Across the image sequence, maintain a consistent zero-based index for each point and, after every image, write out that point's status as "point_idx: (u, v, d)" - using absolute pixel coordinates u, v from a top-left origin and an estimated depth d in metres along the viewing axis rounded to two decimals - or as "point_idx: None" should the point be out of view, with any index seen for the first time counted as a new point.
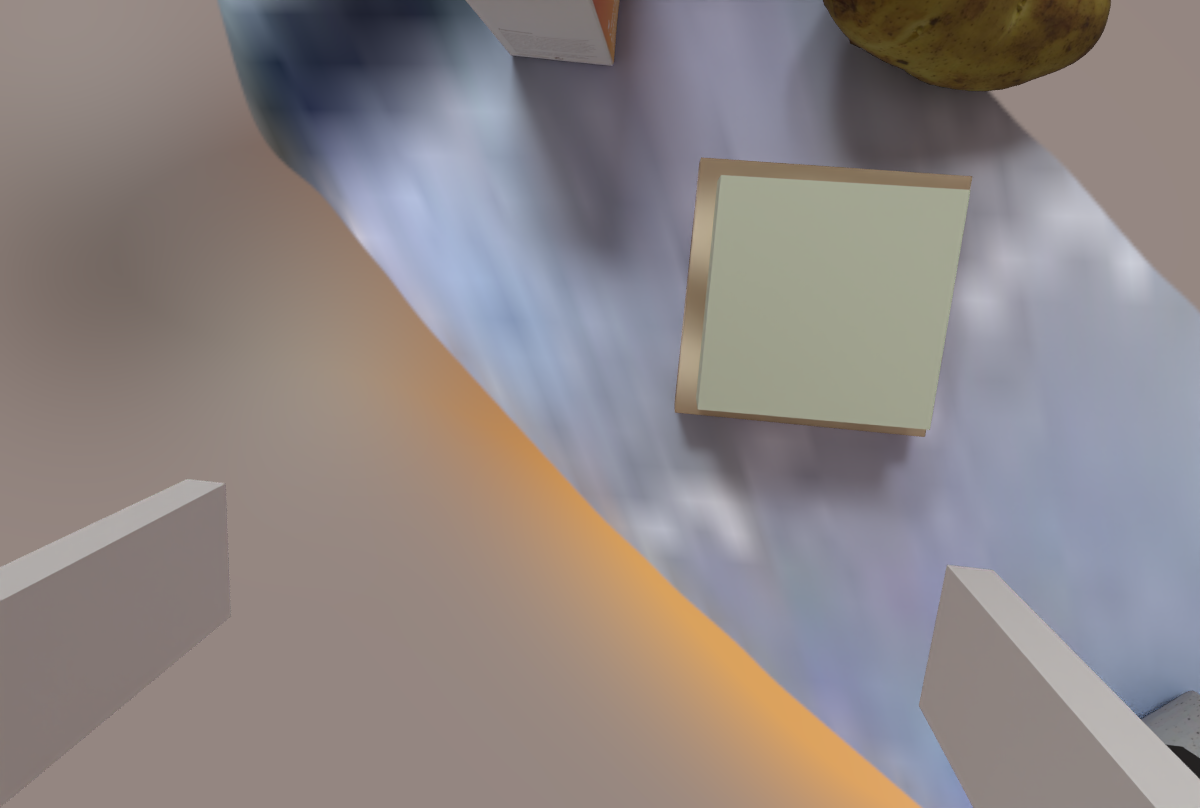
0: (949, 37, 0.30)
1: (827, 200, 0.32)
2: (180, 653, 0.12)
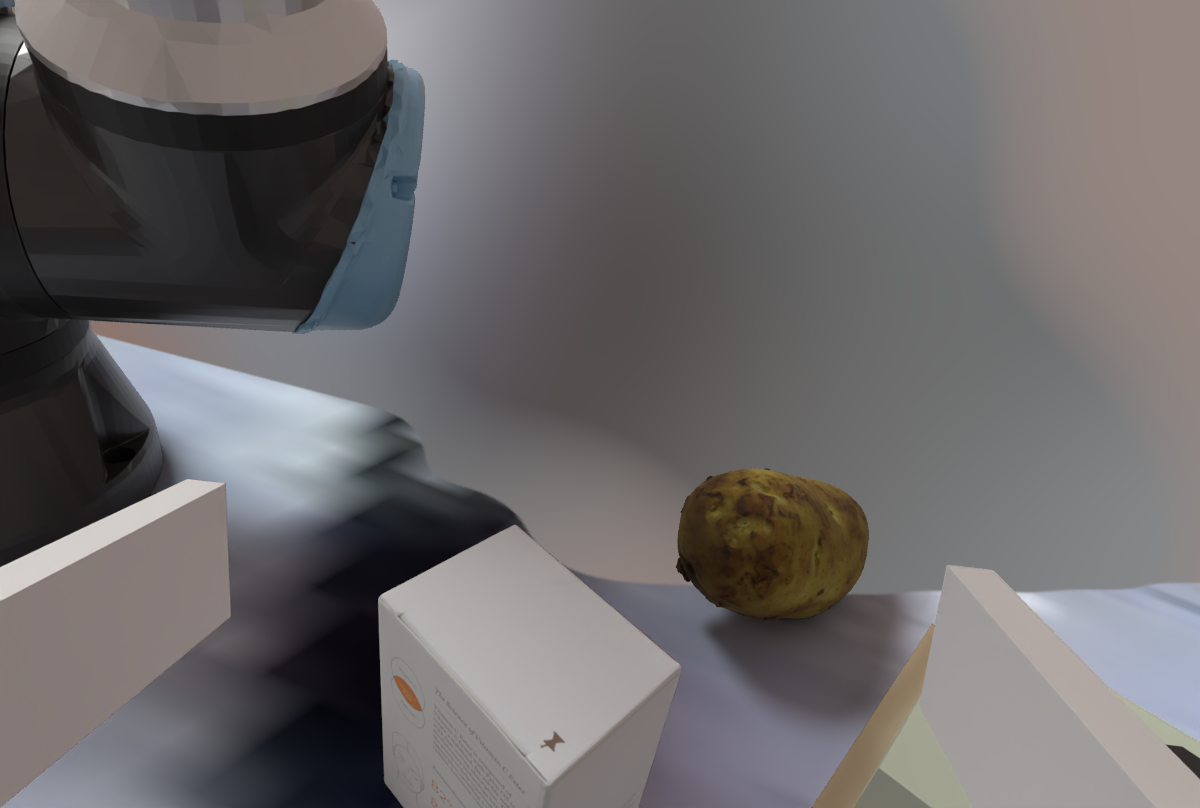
0: (831, 547, 0.34)
1: None
2: (180, 653, 0.12)
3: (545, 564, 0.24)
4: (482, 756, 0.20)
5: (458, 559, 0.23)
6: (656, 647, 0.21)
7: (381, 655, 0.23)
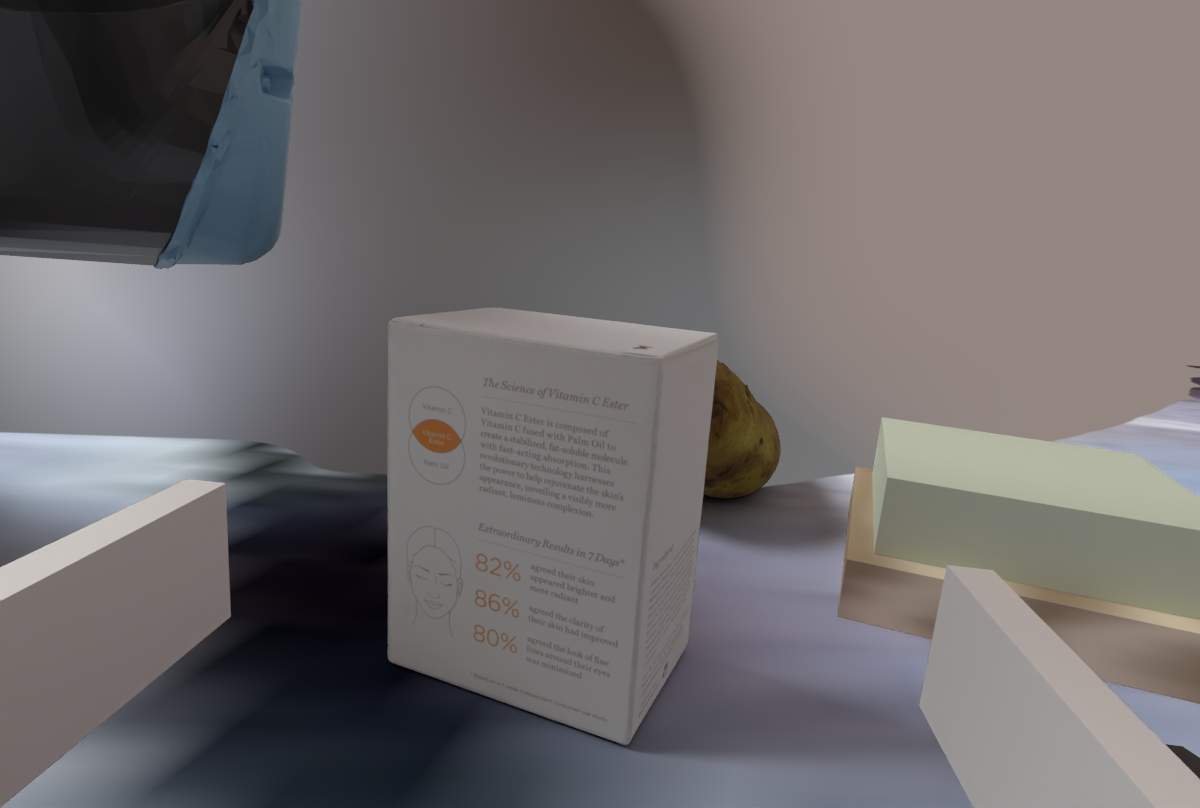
0: (756, 403, 0.36)
1: (904, 448, 0.30)
2: (180, 653, 0.12)
3: (545, 313, 0.23)
4: (561, 415, 0.17)
5: (456, 312, 0.21)
6: None
7: (391, 415, 0.20)
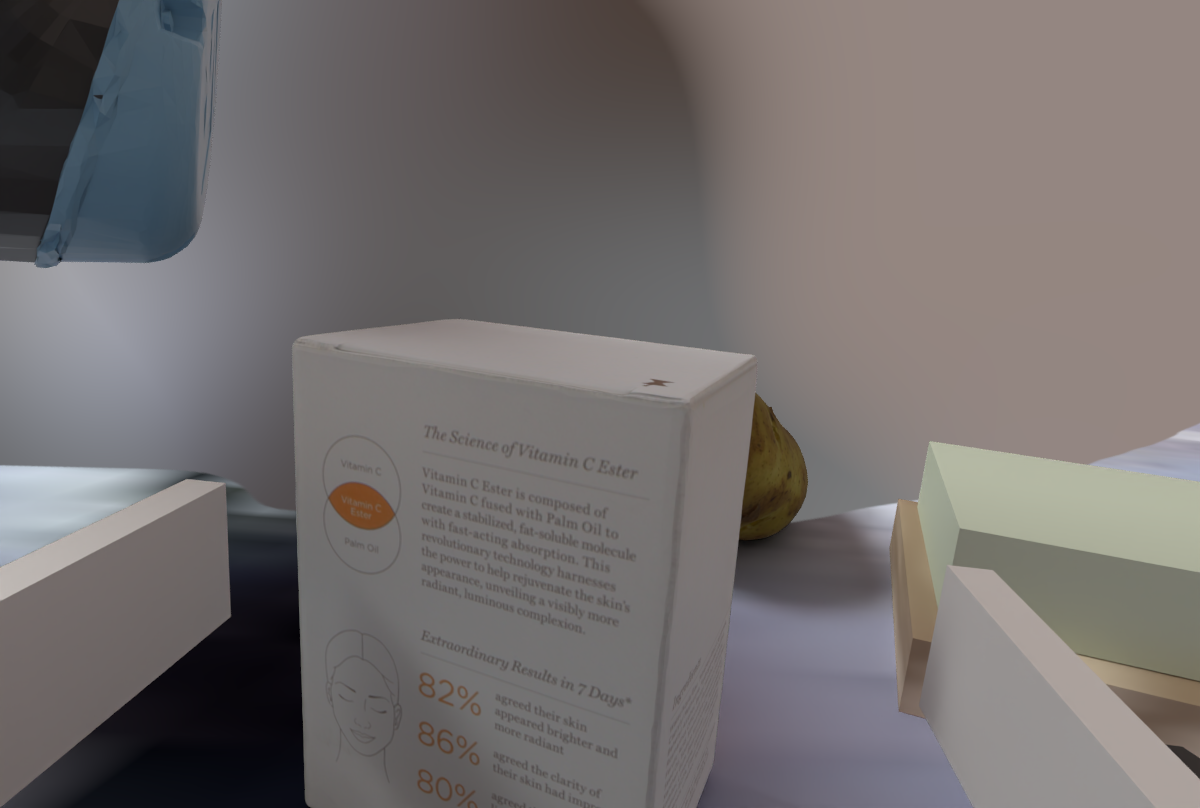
0: (782, 428, 0.30)
1: (968, 485, 0.25)
2: (180, 653, 0.12)
3: (522, 327, 0.17)
4: (537, 483, 0.12)
5: (399, 326, 0.16)
6: None
7: (300, 474, 0.14)
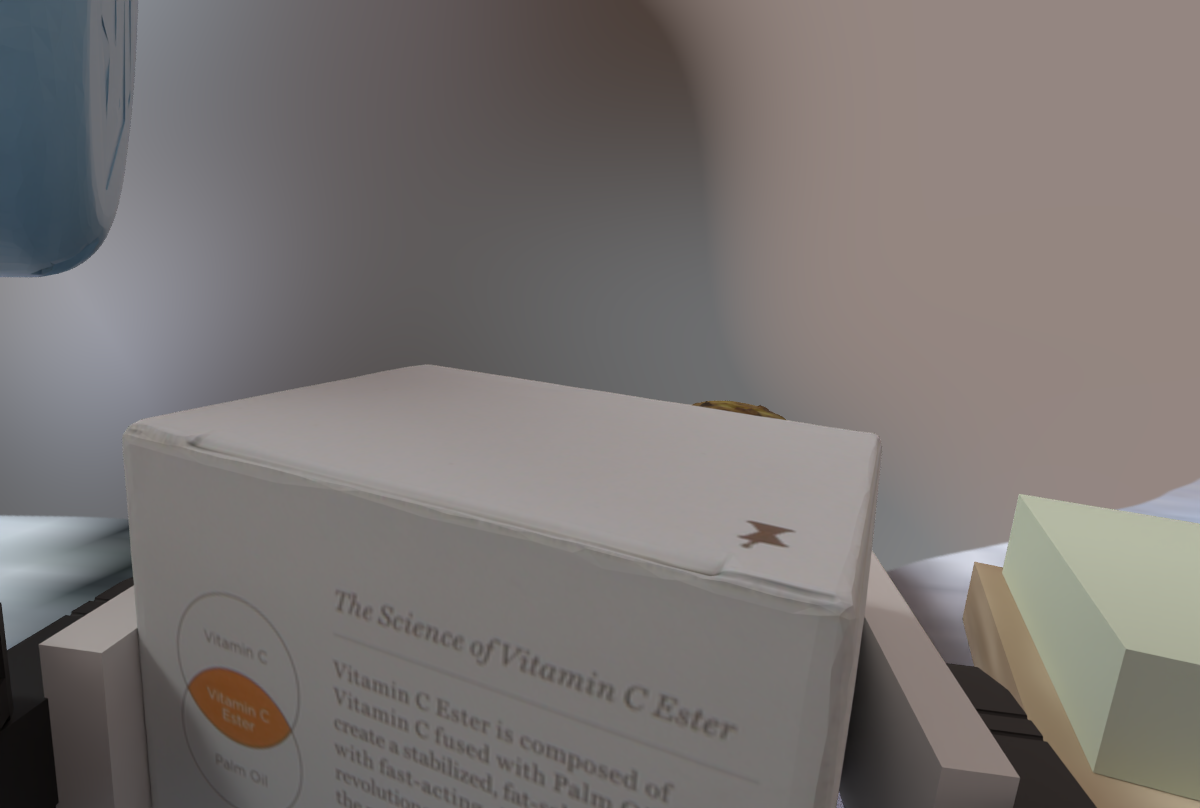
0: None
1: (1099, 566, 0.19)
2: None
3: (515, 381, 0.11)
4: (536, 719, 0.06)
5: (326, 385, 0.10)
6: (811, 425, 0.10)
7: (144, 643, 0.08)
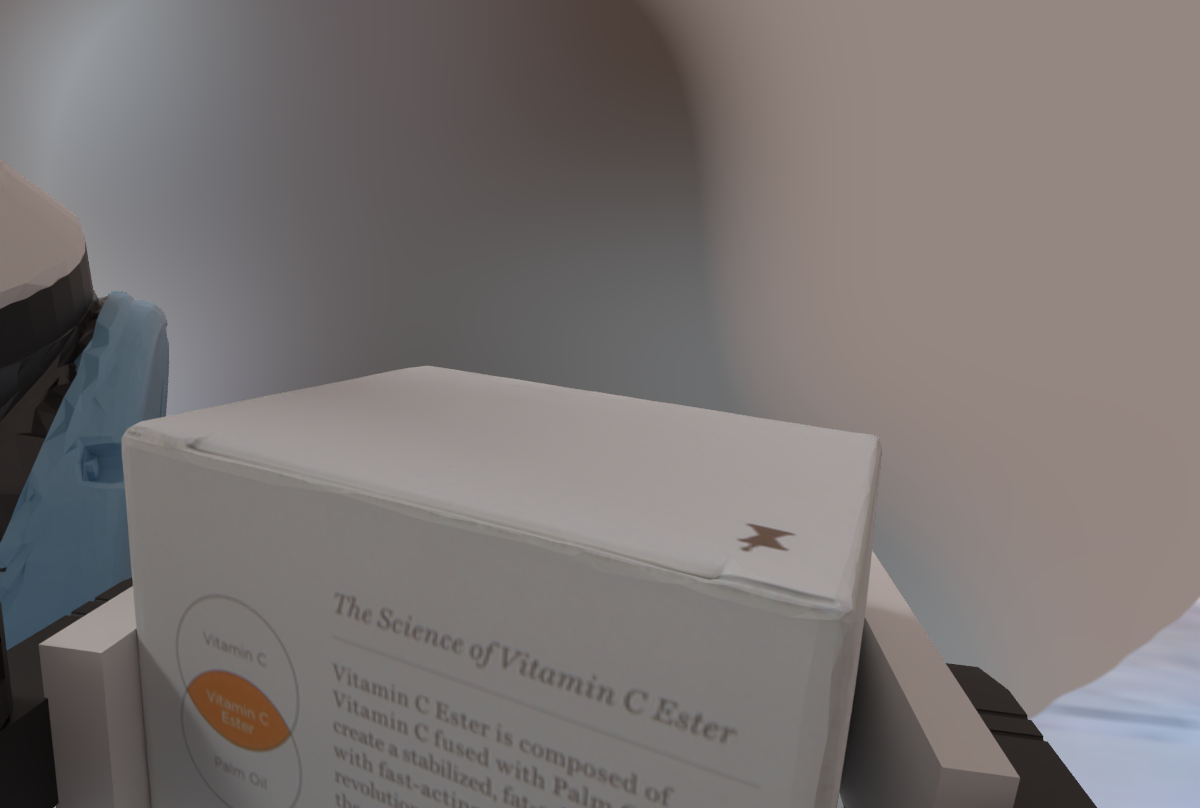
0: None
1: None
2: None
3: (515, 383, 0.11)
4: (536, 721, 0.06)
5: (325, 387, 0.10)
6: (811, 426, 0.10)
7: (143, 646, 0.08)
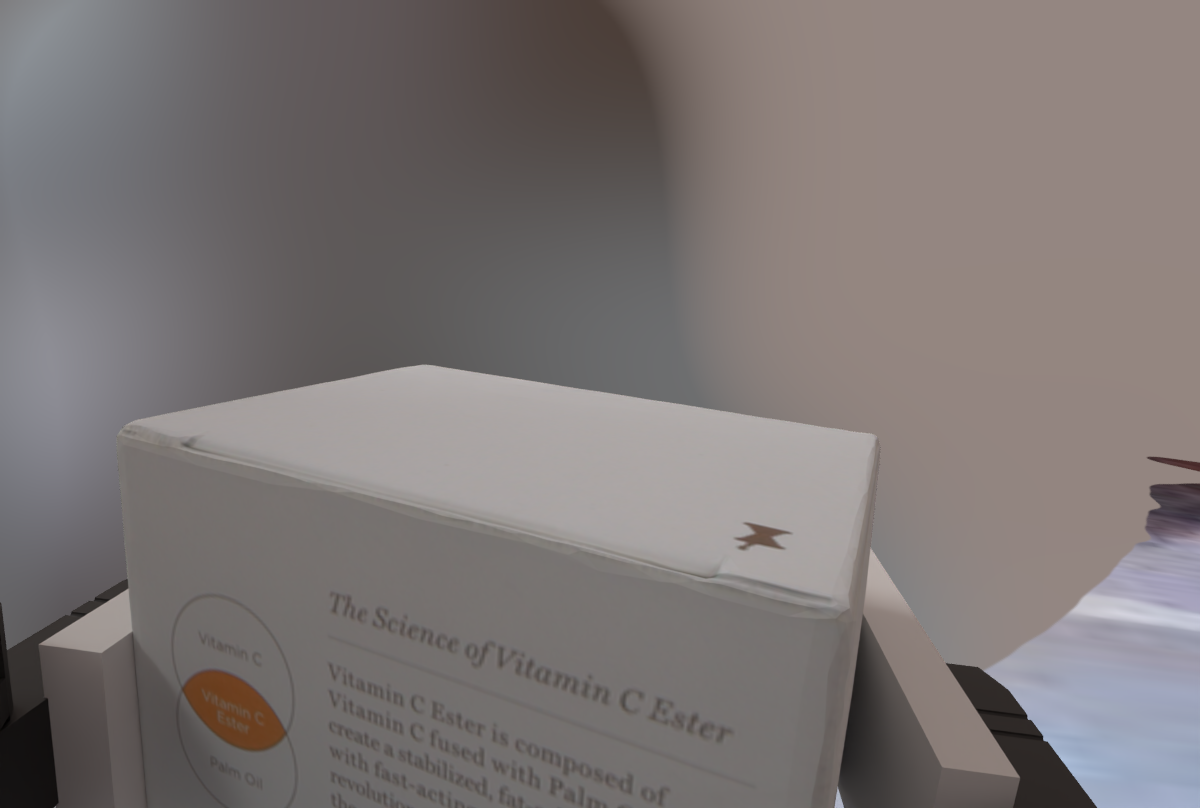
0: None
1: None
2: None
3: (513, 382, 0.11)
4: (532, 720, 0.06)
5: (322, 386, 0.10)
6: (810, 425, 0.10)
7: (138, 645, 0.08)
